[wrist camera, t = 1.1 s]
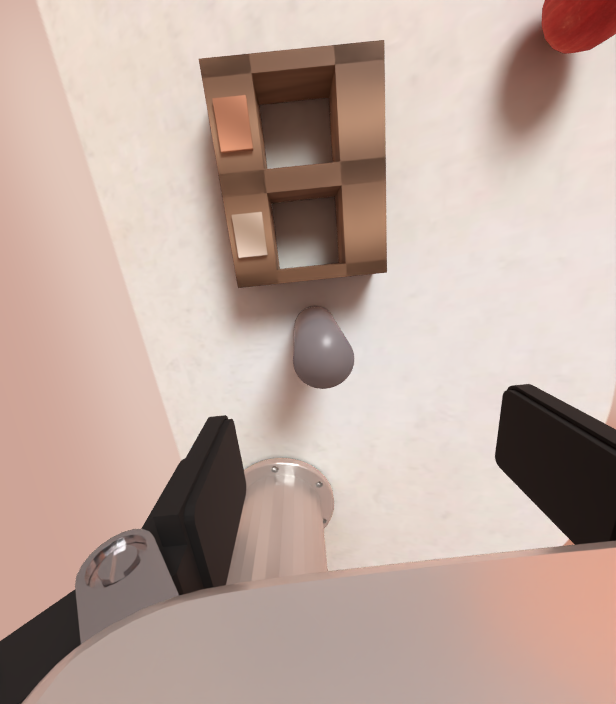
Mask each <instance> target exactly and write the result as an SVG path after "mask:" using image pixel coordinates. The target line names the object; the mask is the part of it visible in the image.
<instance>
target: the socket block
mask: <svg viewBox="0 0 616 704" xmlns="http://www.w3.org/2000/svg"><path fill="white" fill-rule="evenodd" d="M199 63H200V69H201V75H202V81H203V87H204V93H205V98H206V104H207V110H208V116H209V122H210V127H211V133H212V139H213V145H214V151H215V156H216V162H217V168H218V174H219V180H220V186H221V191H222V197H223V203H224V209H225V215H226V220H227V226H228V232H229V238H230V244H231V249H232V255H233V261H234V267H235V273H236V279H237V284H238V288H242V287H251V286H261V285H271V284H280V283H290V282H299V281H309V280H319V279H328V278H338V277H347V276H357V275H367V274H376V273H386V272H387V243H386V154H385V65H384V40H379V41H370V42H360V43H350V44H340V45H330V46H320V47H311V48H301V49H291V50H281V51H271V52H261V53H252V54H242V55H232V56H222V57H212V58H202V59H199ZM320 98H329V110H330V126H331V143H332V159H333V162H332V163H322V164H312V165H303V166H293V167H283V168H273V169H267V163H266V155H265V147H264V138H263V130H262V122H261V114H260V106H259V105H261V104H271V103H281V102H290V101H300V100H310V99H320ZM327 197H335V208H336V224H337V240H338V256H339V263H334V264H324V265H314V266H305V267H295V268H285V269H280V267H279V259H278V251H277V243H276V235H275V227H274V219H273V211H272V203H278V202H288V201H297V200H307V199H317V198H327Z"/></svg>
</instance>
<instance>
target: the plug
mask: <svg viewBox="0 0 616 704" xmlns="http://www.w3.org/2000/svg"><path fill="white" fill-rule="evenodd" d="M293 364H294V369H295V371H296V373H297V375H298V377H299V378H300V379H301V380H302V381H303V382H304V383H306V384H307V385H309V386H311V387H314V388H321V389H325V388H331V387H334V386H337V385H339V384H340V383H342V382H343V381H344V380H345V379H346V378H347V377H348V376H349V374H350V373H351V371H352V369H353V365H354V353H353V350H352V347H351V345H350V344H349V342H348V341H347V339H346V337H345V336H344V334H343V332H342V331H341V329H340V327H339V326H338V324H337V323H336V321H335V319H334V318H333V316H332V314H331V313H330V312H329V311H328V310H326V309H325V308H322V307H319V306H312V307H308V308H306V309H304V310H303V311H301V312H300V313H299V315H298V316H297V318H296V321H295V331H294V355H293Z"/></svg>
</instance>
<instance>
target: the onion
mask: <svg viewBox="0 0 616 704" xmlns="http://www.w3.org/2000/svg"><path fill="white" fill-rule="evenodd" d="M542 29H543V33H544V37H545V40H546V41H547V42H548V43H549V45H550V46H551V47H552V48H553V49H554V50H557V51H559V52H562V53H564V54H567V53H576V52H581V51H587V50H590V49H592V48H594V47H595V46H597V45H599V44H601V43H602V42H604V41H605V40H607V39H609V38H610V37H612V36H613V35H615V34H616V0H545V2H544V5H543V8H542Z"/></svg>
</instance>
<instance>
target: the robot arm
mask: <svg viewBox="0 0 616 704" xmlns="http://www.w3.org/2000/svg"><path fill="white" fill-rule="evenodd" d="M495 459H496V462H497V464H498V466H499V467H500V468H501V469H502V470H503V472H504V473H505V474H506V475H507V476H508V477H509V478H510V479H511V480H512V481H513V482H514V483H515V484H516V485H517V486H518V487H519V488H520V489H521V490H522V491H523V492H524V493H525V494H526V495H527V496H528V497H529V498H530V499H531V500H532V501H533V502H534V503H535V504H536V505H537V506H538V507H539V508H540V509H541V510H542V511H543V512H544V514H545V515H546V516H547V517H548V518H549V519H550V520H551V521H552V522H553V523H554V524H555V525H556V526H557V527H558V528H559V529H560V530H561V531H562V532H563V533H564V534H565V535H566V536H567V537H568V538H569V539H570V540H571V541H572V542H573V543H574V544H575V545H568V546H558V547H548V548H538V549H529V550H519V551H510V552H500V553H491V554H481V555H472V556H462V557H453V558H444V559H434V560H425V561H416V562H407V563H398V564H389V565H380V566H371V567H363V568H354V569H345V570H336V571H328V569H327V559H326V549H325V538H324V528H325V527H326V526H327V524H328V523H329V521H330V519H331V517H332V514H333V510H334V497H333V491H332V488H331V486H330V483H329V482H328V480H327V479H326V477H325V476H324V475H323V474H322V473H321V472H320V471H319V470H318V469H316V468H315V467H313V466H312V465H310V464H307V463H305V462H303V461H299V460H295V459H290V458H272V459H267V460H263V461H260V462H258V463H255V464H253V465H251V466H250V467H248V468H246V469H245V470H244V469H243V464H242V459H241V454H240V449H239V445H238V440H237V435H236V430H235V425H234V421H233V419H228V417H227V416H226V415H225V416H215V417H209V418H208V419H207V421H206V423H205V425H204V426H203V428H202V430H201V432H200V434H199V435H198V437H197V439H196V441H195V442H194V444H193V446H192V448H191V450H190V451H189V453H188V455H187V457H186V458H185V459H183V460H182V461H181V462H180V463H179V465H178V466H177V468H176V470H175V472H174V473H173V475H172V477H171V479H170V480H169V482H168V484H167V485H166V487H165V489H164V491H163V492H162V494H161V496H160V497H159V499H158V501H157V503H156V505H155V506H154V508H153V510H152V511H151V513H150V515H149V516H148V518H147V520H146V522H145V523H144V525H143V527H142V528H141V529H132V530H129V531H125V532H122V533H120V534H118V535H116V536H114V537H112V538H110V539H109V540H107V541H106V542H104V543H103V544H101V545H100V546H99V547H98V548H97V549H96V550H95V551H94V552H92V553H91V554H90V555H89V557H88V558H87V559H86V561H85V562H84V563H83V565H82V566H81V568H80V570H79V572H78V574H77V576H76V583H75V590H74V591H72V592H71V593H69V594H68V595H67V596H65V597H63V598H62V599H60V600H59V601H58V602H56V603H55V604H53V605H52V606H50V607H49V608H48V609H46V610H45V611H43V612H42V613H40V614H39V615H37V616H36V617H35V618H33V619H32V620H30V621H29V622H27V623H26V624H24V625H23V626H22V627H20V628H19V629H17V630H16V631H14V632H13V633H11V634H10V635H9V636H7V637H6V638H4V639H3V640H1V641H0V704H616V430H615V429H614V428H612V427H610V426H608V425H606V424H604V423H603V422H601V421H599V420H597V419H595V418H593V417H591V416H589V415H587V414H586V413H584V412H582V411H580V410H578V409H576V408H574V407H572V406H571V405H569V404H567V403H565V402H563V401H561V400H559V399H557V398H556V397H554V396H552V395H550V394H548V393H546V392H544V391H542V390H540V389H539V388H537V387H535V386H533V385H530V384H524V385H514V386H510V387H508V389H507V391H505V392H504V393H503V398H502V406H501V413H500V421H499V429H498V437H497V445H496V452H495Z"/></svg>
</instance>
